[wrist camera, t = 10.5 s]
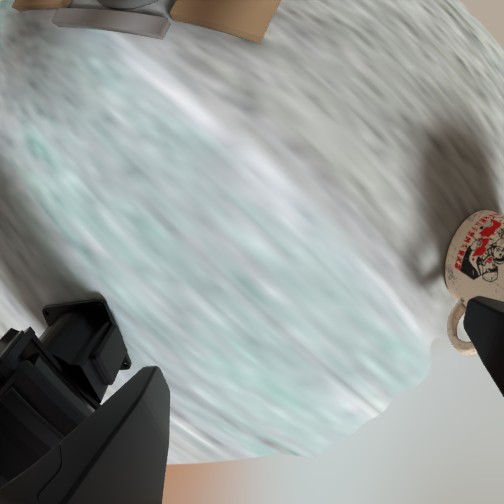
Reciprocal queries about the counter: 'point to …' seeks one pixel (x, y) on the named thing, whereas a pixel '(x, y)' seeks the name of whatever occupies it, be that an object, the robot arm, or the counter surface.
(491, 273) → the teacup with lid
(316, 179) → the counter surface
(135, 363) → the counter surface
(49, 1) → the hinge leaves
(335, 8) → the counter surface
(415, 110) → the counter surface
